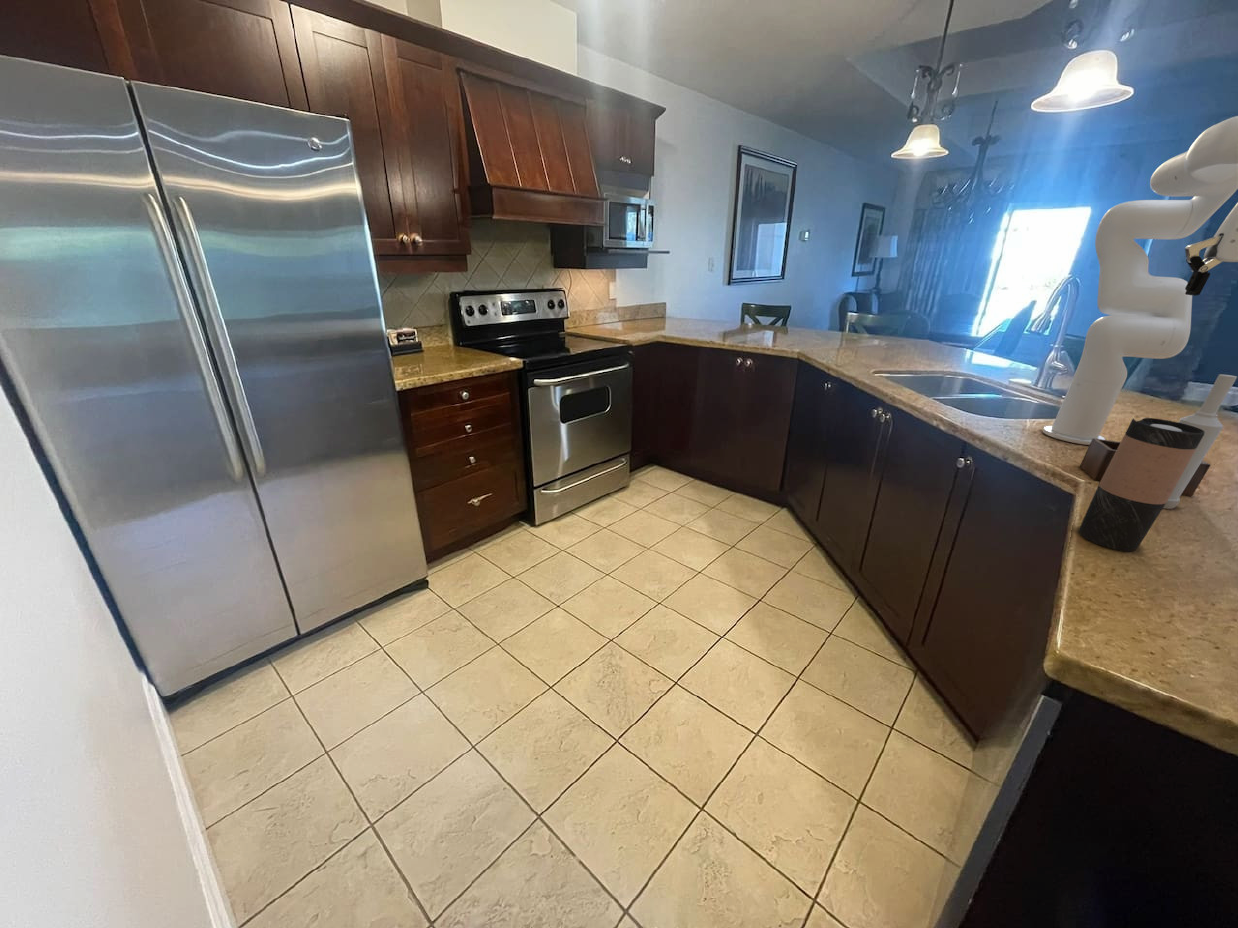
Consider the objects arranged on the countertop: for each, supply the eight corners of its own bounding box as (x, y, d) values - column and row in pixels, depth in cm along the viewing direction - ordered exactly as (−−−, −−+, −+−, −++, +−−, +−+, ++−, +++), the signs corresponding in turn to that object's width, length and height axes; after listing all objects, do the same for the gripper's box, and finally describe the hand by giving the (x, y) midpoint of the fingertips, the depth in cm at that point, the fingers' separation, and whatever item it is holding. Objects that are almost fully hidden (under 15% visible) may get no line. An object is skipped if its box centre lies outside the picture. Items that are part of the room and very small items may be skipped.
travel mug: (1146, 558, 73) (1217, 437, 65) (1081, 542, 77) (1141, 426, 69) (1130, 536, 79) (1193, 423, 71) (1071, 522, 83) (1124, 413, 75)
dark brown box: (1079, 466, 107) (1092, 438, 105) (1169, 481, 102) (1186, 451, 99) (1094, 480, 101) (1109, 449, 98) (1192, 496, 95) (1210, 464, 92)
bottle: (1183, 511, 89) (1261, 380, 79) (1151, 507, 90) (1224, 377, 80) (1160, 498, 93) (1231, 373, 83) (1130, 495, 94) (1196, 371, 84)
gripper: (1341, 192, 80) (1278, 298, 87) (1202, 193, 87) (1154, 292, 94) (1381, 187, 74) (1310, 302, 81) (1228, 189, 80) (1175, 295, 88)
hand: (1227, 296), depth 87 cm, fingers open, 9 cm apart
